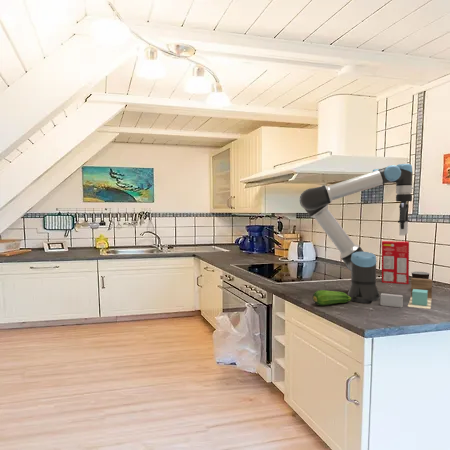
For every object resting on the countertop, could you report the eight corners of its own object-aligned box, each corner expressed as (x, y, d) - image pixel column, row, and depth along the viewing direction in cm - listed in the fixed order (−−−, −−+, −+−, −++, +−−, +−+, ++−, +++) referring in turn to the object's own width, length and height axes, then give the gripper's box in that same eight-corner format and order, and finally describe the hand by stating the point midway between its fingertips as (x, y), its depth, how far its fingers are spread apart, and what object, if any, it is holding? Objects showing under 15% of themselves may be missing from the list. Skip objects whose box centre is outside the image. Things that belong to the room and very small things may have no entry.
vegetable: (312, 287, 172) (348, 284, 178) (309, 299, 176) (344, 296, 181) (319, 297, 166) (356, 294, 172) (315, 309, 170) (352, 306, 175)
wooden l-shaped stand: (430, 311, 159) (430, 288, 158) (407, 308, 163) (407, 286, 163) (431, 299, 179) (432, 279, 179) (411, 297, 184) (411, 277, 183)
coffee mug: (413, 288, 203) (413, 270, 203) (430, 290, 198) (430, 272, 197) (408, 292, 194) (408, 274, 194) (426, 294, 189) (426, 275, 188)
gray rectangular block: (397, 320, 147) (398, 305, 147) (374, 317, 152) (374, 303, 152) (402, 308, 164) (402, 295, 164) (381, 305, 169) (381, 293, 169)
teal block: (426, 306, 164) (427, 292, 163) (412, 304, 167) (412, 291, 166) (427, 302, 169) (427, 290, 168) (413, 301, 172) (413, 288, 172)
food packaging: (408, 282, 219) (408, 241, 218) (408, 284, 214) (409, 242, 213) (381, 280, 225) (382, 241, 224) (381, 282, 221) (381, 241, 219)
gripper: (410, 193, 175) (409, 236, 176) (413, 194, 197) (413, 233, 198) (393, 193, 179) (393, 236, 180) (398, 194, 200) (398, 232, 201)
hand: (403, 234), depth 189 cm, fingers open, 13 cm apart
